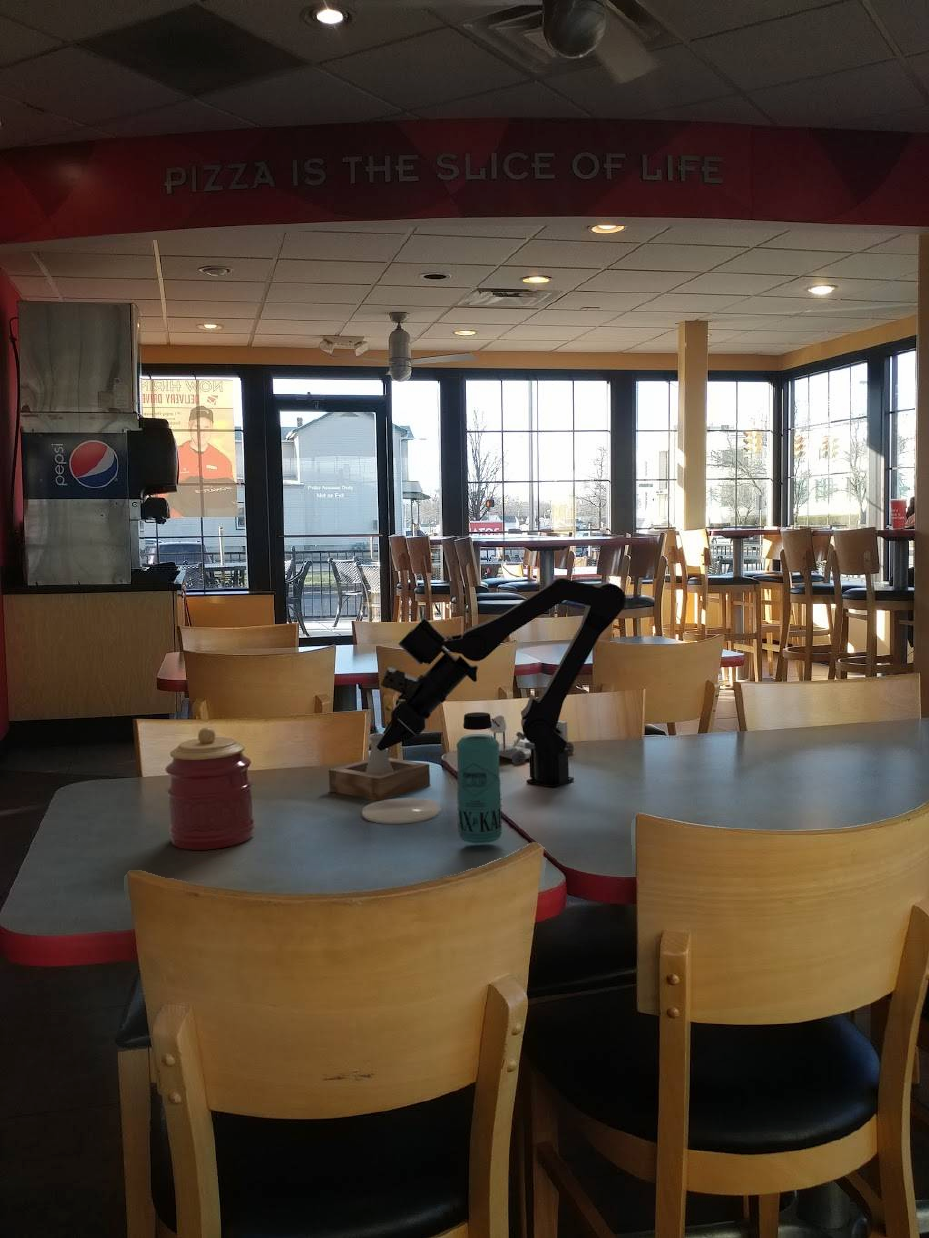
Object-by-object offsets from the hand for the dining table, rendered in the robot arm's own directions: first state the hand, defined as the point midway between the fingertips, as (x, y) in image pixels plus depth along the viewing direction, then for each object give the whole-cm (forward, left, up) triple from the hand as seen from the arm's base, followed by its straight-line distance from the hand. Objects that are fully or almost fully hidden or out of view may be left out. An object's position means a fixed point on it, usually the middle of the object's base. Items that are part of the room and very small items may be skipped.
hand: (380, 743), depth 190 cm
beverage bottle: (-38, +17, -8) cm, 42 cm away
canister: (0, +37, -8) cm, 38 cm away
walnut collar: (0, 0, -8) cm, 8 cm away
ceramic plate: (-15, +10, -8) cm, 20 cm away
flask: (0, 0, -9) cm, 9 cm away
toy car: (-5, -35, -9) cm, 37 cm away
